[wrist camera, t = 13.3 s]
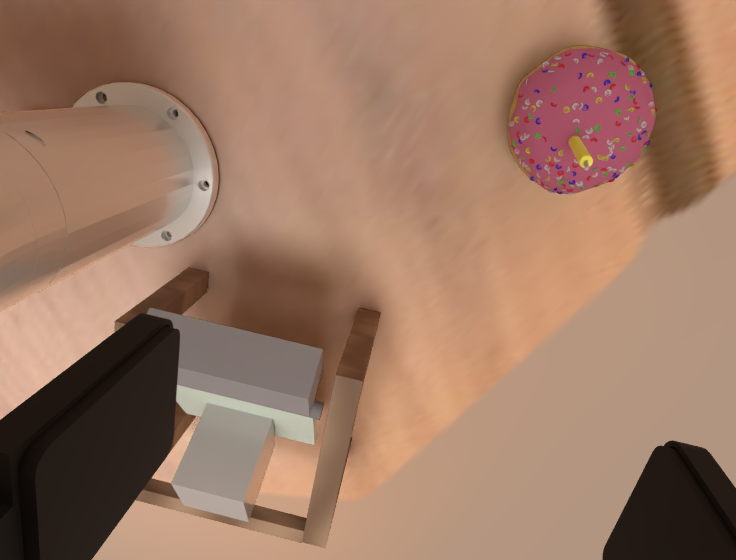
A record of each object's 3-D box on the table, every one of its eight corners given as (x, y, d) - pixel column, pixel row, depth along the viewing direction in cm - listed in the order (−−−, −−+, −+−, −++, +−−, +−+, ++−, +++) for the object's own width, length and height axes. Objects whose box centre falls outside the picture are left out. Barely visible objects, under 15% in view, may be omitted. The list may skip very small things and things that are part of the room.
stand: (178, 411, 49) (112, 494, 39) (188, 267, 43) (114, 321, 33) (348, 454, 48) (325, 549, 38) (380, 312, 42) (363, 381, 33)
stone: (207, 402, 38) (170, 483, 34) (272, 418, 38) (243, 502, 34) (215, 430, 42) (183, 505, 38) (274, 444, 42) (248, 522, 38)
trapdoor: (192, 382, 44) (177, 418, 42) (142, 305, 32) (117, 352, 30) (328, 416, 43) (318, 454, 42) (330, 350, 31) (316, 401, 30)
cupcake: (568, 202, 37) (623, 252, 26) (473, 135, 37) (488, 157, 26) (656, 98, 34) (760, 104, 23) (554, 22, 34) (611, -9, 22)
